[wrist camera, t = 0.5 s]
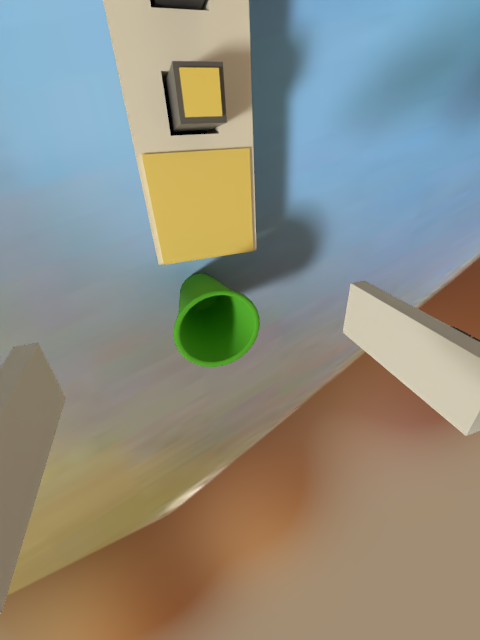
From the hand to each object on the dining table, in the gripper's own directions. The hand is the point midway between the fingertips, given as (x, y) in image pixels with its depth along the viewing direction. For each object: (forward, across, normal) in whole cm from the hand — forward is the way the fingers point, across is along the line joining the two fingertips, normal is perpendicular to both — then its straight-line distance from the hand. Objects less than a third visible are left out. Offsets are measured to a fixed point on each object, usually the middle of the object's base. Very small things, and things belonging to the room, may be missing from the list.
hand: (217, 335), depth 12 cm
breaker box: (+25, +4, +10) cm, 27 cm away
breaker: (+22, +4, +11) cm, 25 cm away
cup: (+25, +3, -9) cm, 27 cm away
